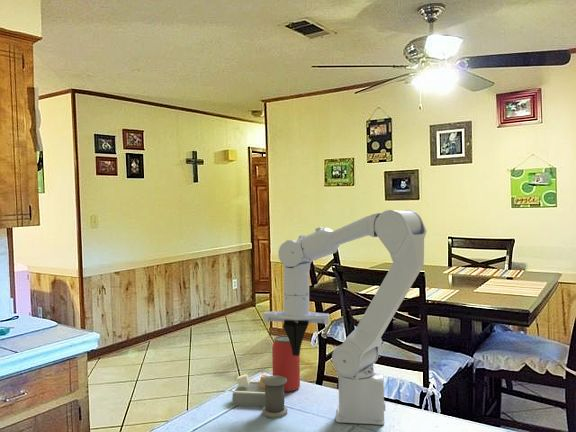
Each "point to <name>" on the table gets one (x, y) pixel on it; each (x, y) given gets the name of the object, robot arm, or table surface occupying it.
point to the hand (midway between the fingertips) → (296, 354)
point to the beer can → (286, 363)
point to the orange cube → (261, 380)
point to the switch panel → (250, 395)
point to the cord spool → (274, 396)
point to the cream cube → (243, 380)
